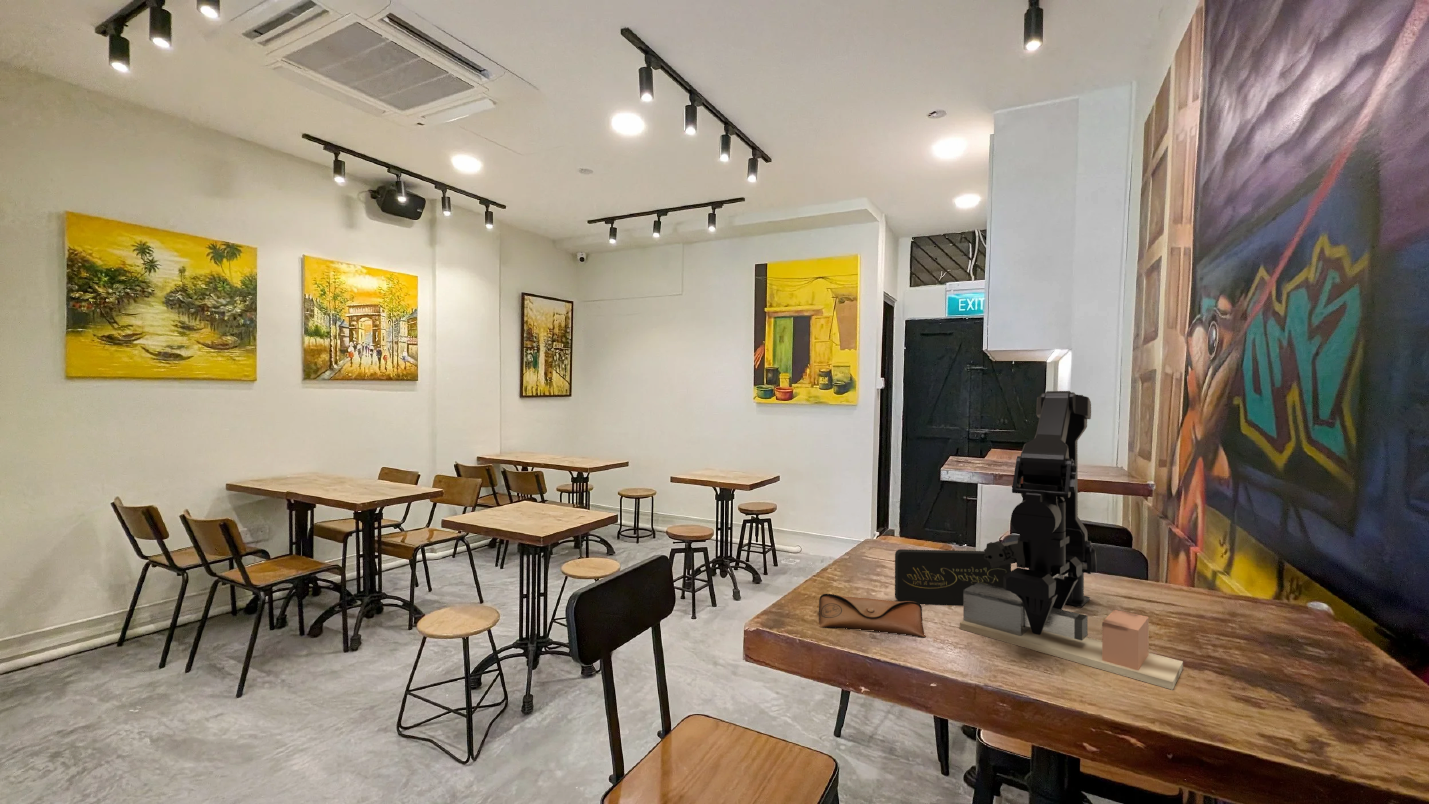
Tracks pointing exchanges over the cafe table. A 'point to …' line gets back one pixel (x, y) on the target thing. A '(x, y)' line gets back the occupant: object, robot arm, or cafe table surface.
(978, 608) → the grey sleeve
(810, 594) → the cafe table surface
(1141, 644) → the terracotta socket
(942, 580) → the nameplate
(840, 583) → the cafe table surface
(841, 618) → the sunglasses case
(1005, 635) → the base board
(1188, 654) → the cafe table surface
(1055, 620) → the silver rectangular bar
